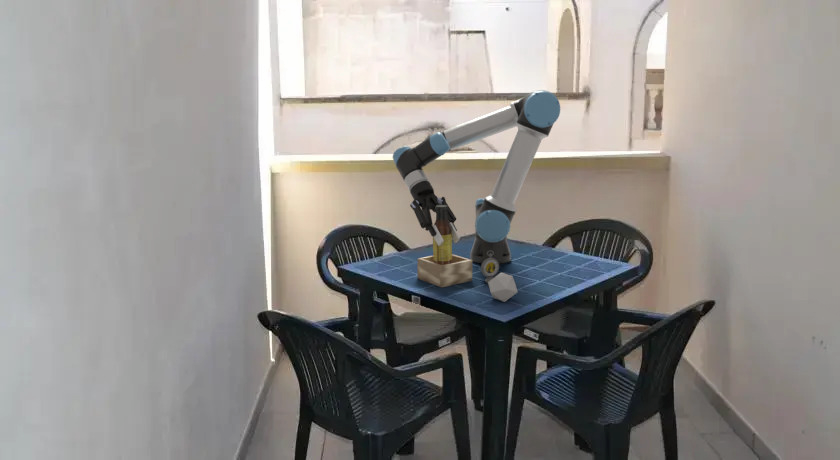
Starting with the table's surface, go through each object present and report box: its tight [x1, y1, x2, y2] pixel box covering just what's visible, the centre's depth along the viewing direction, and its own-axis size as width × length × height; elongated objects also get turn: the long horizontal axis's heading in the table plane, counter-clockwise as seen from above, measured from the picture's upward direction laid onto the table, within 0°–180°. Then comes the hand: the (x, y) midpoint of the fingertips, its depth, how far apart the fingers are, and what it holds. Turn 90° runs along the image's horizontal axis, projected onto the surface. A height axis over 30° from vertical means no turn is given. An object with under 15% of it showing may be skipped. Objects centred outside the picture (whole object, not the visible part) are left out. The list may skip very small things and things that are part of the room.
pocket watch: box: [480, 251, 500, 284], centre depth 223 cm, size 8×8×10 cm
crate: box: [417, 253, 473, 288], centre depth 226 cm, size 13×13×7 cm
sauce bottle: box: [432, 205, 453, 265], centre depth 223 cm, size 7×6×20 cm
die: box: [487, 272, 519, 303], centre depth 205 cm, size 8×9×10 cm
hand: (449, 241), depth 221 cm, fingers closed on sauce bottle, 6 cm apart
